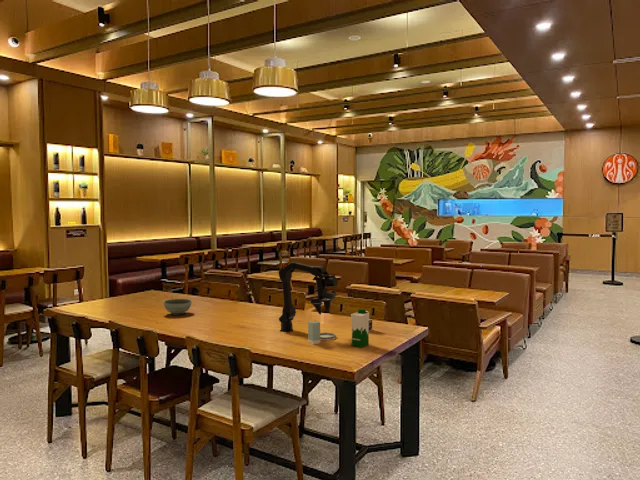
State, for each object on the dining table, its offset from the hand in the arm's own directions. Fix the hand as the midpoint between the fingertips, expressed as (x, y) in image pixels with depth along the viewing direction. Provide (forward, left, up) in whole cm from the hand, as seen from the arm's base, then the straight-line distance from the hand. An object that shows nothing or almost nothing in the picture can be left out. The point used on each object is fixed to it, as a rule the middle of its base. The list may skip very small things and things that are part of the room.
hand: (324, 313), depth 293 cm
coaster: (+2, -3, -14) cm, 14 cm away
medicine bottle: (+17, +23, -14) cm, 32 cm away
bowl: (-128, +16, -14) cm, 129 cm away
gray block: (+1, -16, -14) cm, 22 cm away
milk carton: (+27, -11, -14) cm, 33 cm away
